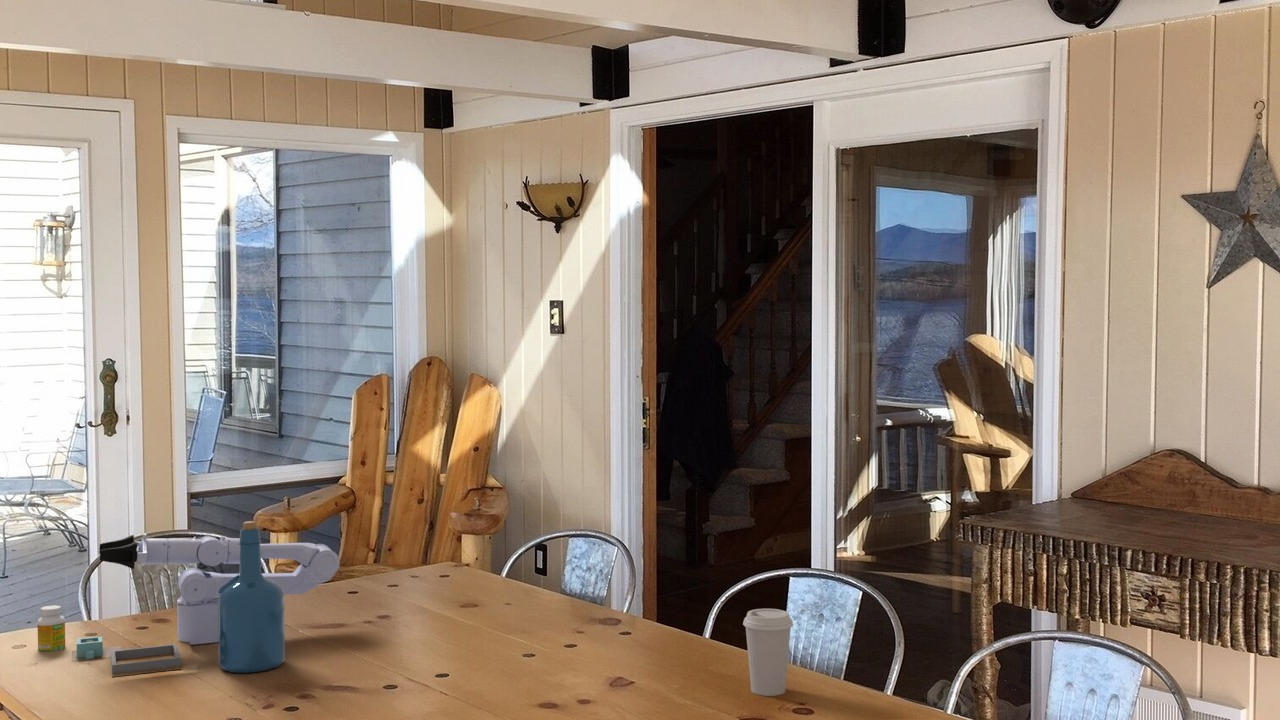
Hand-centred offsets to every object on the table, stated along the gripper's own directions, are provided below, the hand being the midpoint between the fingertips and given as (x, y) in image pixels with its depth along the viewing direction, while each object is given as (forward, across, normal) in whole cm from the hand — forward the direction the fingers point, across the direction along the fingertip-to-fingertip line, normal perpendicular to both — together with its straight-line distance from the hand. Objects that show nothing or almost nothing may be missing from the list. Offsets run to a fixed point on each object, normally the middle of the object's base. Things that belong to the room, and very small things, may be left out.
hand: (99, 552), depth 269 cm
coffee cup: (-117, +87, +12) cm, 147 cm away
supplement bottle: (+8, -4, +23) cm, 24 cm away
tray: (-10, +17, +21) cm, 29 cm away
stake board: (-1, +5, +22) cm, 22 cm away
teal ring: (+1, +5, +21) cm, 22 cm away
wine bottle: (-30, +26, +19) cm, 44 cm away
